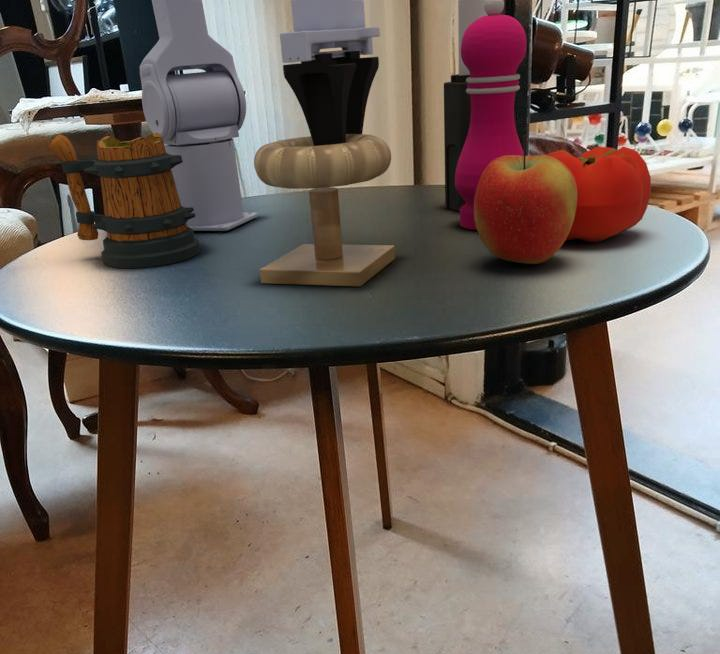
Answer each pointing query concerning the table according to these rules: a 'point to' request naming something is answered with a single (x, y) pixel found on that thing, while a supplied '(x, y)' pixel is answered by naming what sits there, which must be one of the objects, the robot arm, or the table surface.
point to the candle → (458, 106)
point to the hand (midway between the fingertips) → (339, 155)
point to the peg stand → (327, 252)
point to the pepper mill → (489, 98)
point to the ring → (321, 162)
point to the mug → (131, 201)
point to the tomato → (607, 191)
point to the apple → (525, 207)
